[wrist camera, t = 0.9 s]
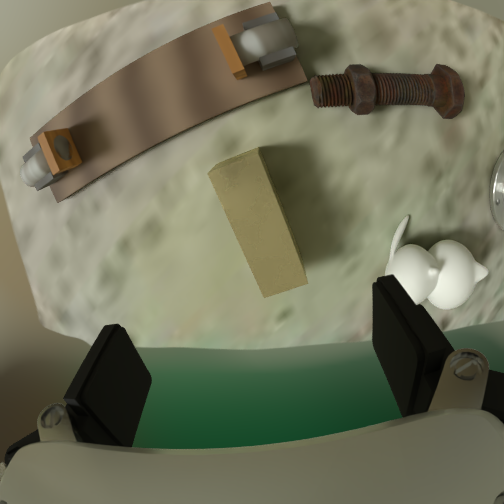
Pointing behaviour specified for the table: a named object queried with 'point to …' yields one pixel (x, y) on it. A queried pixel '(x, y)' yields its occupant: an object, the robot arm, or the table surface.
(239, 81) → the shaft base
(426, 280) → the cat figurine
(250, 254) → the tan rectangular block
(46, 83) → the table surface
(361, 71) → the bolt
